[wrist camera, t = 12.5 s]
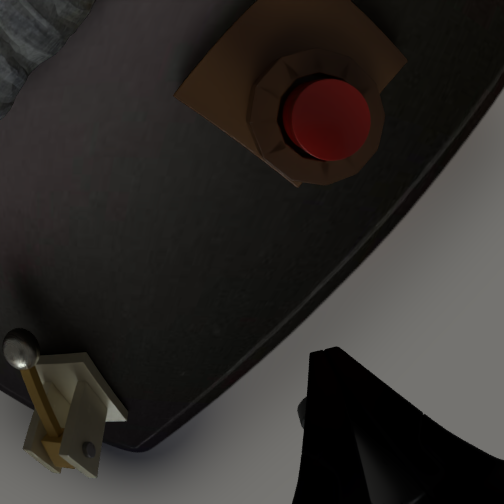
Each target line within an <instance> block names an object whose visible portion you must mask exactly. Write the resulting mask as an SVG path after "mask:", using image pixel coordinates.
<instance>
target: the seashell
mask: <svg viewBox="0 0 504 504" xmlns="http://www.w3.org/2000/svg"><path fill="white" fill-rule="evenodd" d="M94 2H95V0H0V120H1V119H2V118H3V117H4V116H5V115H6V114H7V113H8V112H9V110H10V109H11V107H12V105H13V103H14V100H15V97H16V96H17V94H18V92H19V91H20V89H21V88H22V86H23V84H24V83H25V81H26V80H27V77H28V75H29V74H30V73H31V72H32V71H33V70H34V69H35V68H36V67H37V66H38V65H40V64H41V63H42V62H44V61H46V60H47V59H49V58H51V57H52V56H54V55H55V54H56V53H57V52H58V51H59V50H60V49H61V48H62V47H63V45H64V44H65V43H66V41H67V39H68V38H69V36H71V35H72V34H73V33H74V32H76V30H77V28H78V27H79V26H80V25H81V23H82V22H83V21H84V20H85V18H86V17H87V16H88V14H89V13H90V11H91V8H92V5H93V3H94Z"/></svg>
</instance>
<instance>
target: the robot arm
mask: <svg viewBox="0 0 504 504" xmlns="http://www.w3.org/2000/svg"><path fill="white" fill-rule="evenodd" d="M292 504H504V460H501V459H498V458H496V457H493V456H491V455H489V454H487V453H486V452H484V451H482V450H480V449H478V448H476V447H475V446H473V445H471V444H469V443H468V442H466V441H464V440H462V439H461V438H459V437H457V436H456V435H454V434H452V433H451V432H449V431H447V430H446V429H444V428H443V427H442V426H440V425H439V424H438V423H436V422H435V421H433V420H432V419H431V418H429V417H428V416H427V415H425V414H424V415H423V413H422V412H421V411H420V410H419V409H418V408H416V407H415V406H414V405H412V404H411V403H410V402H408V401H407V400H406V399H404V398H403V397H402V396H401V395H399V394H398V393H397V392H395V391H394V390H393V389H392V388H390V387H389V386H388V385H386V384H385V383H384V382H383V381H381V380H380V379H379V378H377V377H376V376H375V375H374V374H372V373H371V372H370V371H369V370H367V369H366V368H365V367H363V366H362V365H361V364H360V363H358V362H357V361H356V360H354V359H353V358H352V357H351V356H350V355H348V354H347V353H346V352H345V351H343V350H342V349H341V348H339V347H332V348H328V349H325V350H324V351H323V350H320V351H315V352H311V353H310V356H309V372H308V387H307V401H306V413H305V425H304V436H303V446H302V455H301V463H300V470H299V477H298V482H297V487H296V491H295V495H294V498H293V502H292Z"/></svg>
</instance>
